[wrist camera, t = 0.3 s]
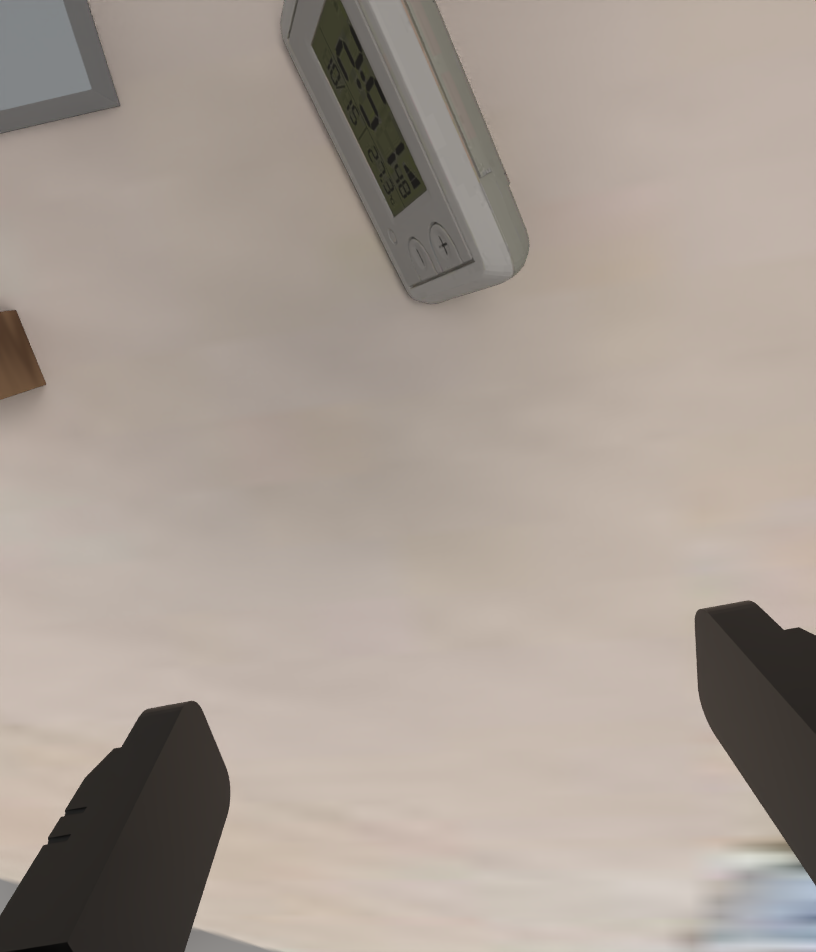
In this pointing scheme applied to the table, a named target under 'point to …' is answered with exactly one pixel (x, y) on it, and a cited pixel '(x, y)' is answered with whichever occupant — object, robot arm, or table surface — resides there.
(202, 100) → the table surface
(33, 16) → the grey board
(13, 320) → the walnut block
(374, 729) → the table surface
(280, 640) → the table surface
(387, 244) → the digital clock
